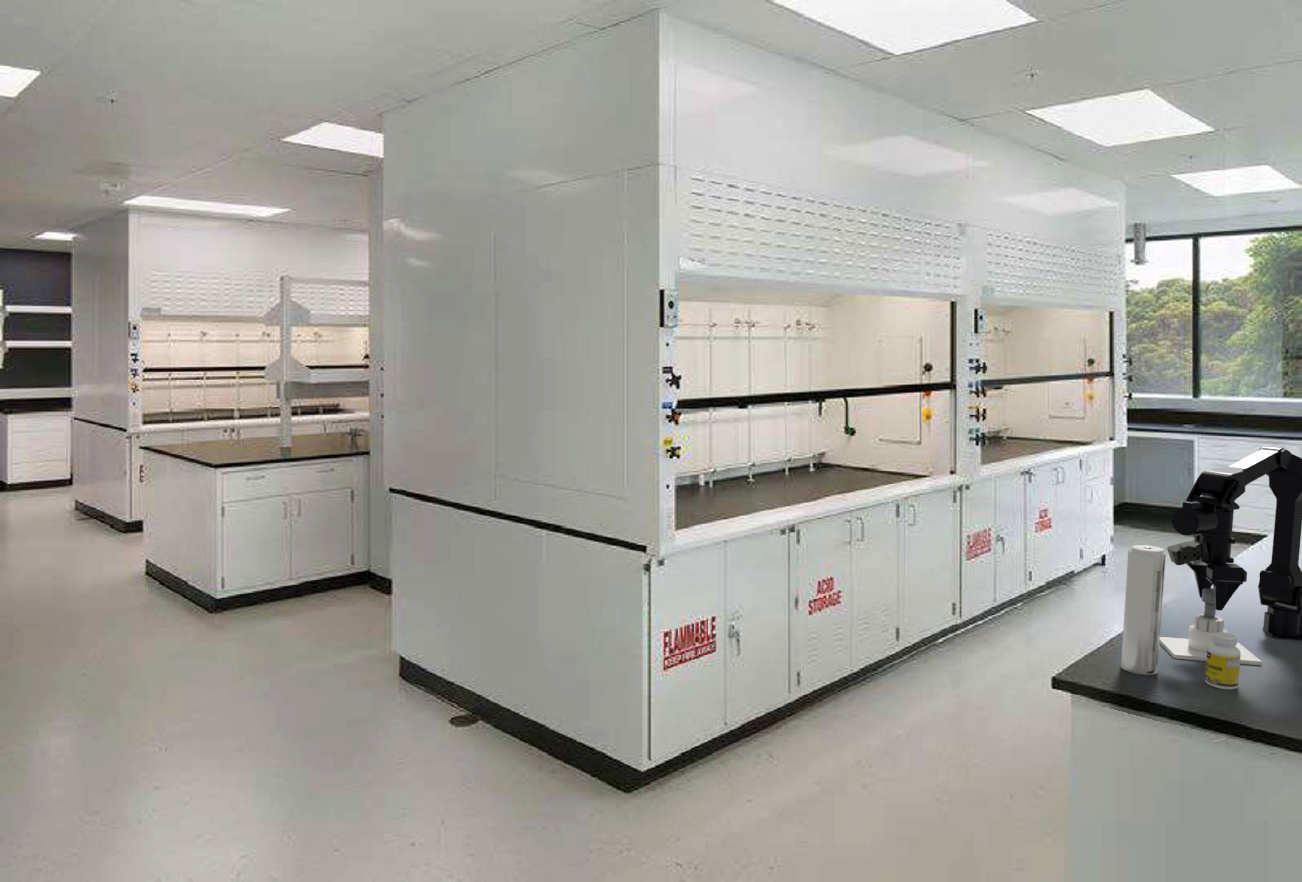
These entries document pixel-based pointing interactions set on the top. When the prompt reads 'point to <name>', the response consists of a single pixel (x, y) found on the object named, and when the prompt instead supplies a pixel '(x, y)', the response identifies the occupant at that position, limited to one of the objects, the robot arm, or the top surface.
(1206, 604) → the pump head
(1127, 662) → the white tall cylinder
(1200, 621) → the white tiered cylinder
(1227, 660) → the supplement bottle
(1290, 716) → the top surface
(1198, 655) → the tray
